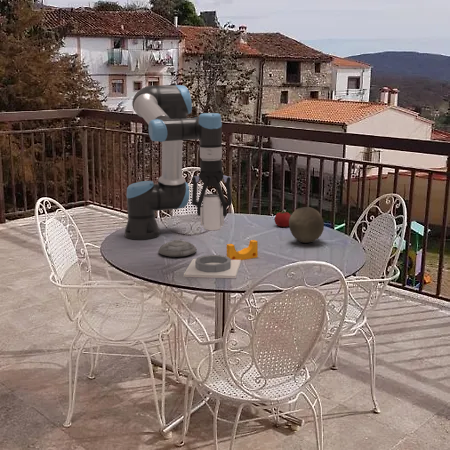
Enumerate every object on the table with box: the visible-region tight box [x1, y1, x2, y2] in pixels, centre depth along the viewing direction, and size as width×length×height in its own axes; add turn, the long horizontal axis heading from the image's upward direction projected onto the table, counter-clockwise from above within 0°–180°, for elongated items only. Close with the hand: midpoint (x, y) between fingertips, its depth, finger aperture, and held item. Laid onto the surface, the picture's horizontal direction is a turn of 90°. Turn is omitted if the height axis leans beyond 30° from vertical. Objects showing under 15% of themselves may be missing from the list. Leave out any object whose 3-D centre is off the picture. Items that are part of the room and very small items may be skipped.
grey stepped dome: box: [158, 239, 197, 258], centre depth 230 cm, size 15×15×6 cm
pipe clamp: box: [226, 239, 259, 261], centre depth 222 cm, size 12×4×6 cm, turn 118°
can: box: [202, 193, 223, 232], centre depth 205 cm, size 6×6×12 cm
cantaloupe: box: [288, 206, 325, 244], centre depth 239 cm, size 14×14×15 cm
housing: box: [183, 254, 242, 279], centre depth 209 cm, size 18×18×4 cm
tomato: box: [274, 210, 292, 228], centre depth 269 cm, size 8×8×7 cm
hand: (212, 224), depth 206 cm, fingers closed on can, 6 cm apart
